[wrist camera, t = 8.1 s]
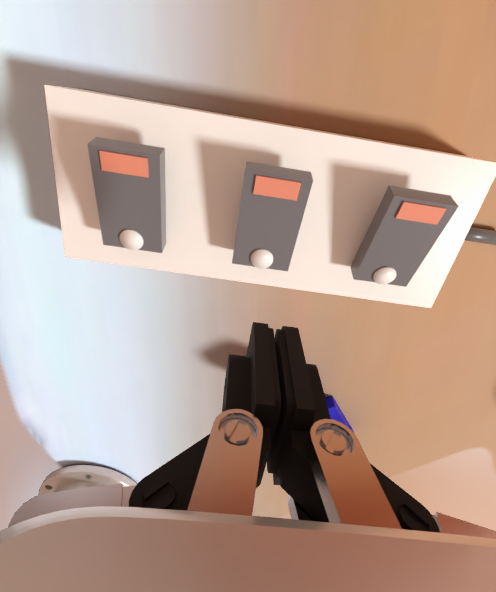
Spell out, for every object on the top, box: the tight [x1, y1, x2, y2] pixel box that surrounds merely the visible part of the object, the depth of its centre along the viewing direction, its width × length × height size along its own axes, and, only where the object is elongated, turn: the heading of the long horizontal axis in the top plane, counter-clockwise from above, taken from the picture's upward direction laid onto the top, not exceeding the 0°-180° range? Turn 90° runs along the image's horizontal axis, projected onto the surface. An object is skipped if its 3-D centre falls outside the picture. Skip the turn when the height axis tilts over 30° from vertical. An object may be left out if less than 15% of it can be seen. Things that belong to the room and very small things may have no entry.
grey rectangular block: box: [87, 137, 166, 253], centre depth 19 cm, size 6×4×1 cm, turn 172°
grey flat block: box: [350, 185, 459, 287], centre depth 21 cm, size 6×4×1 cm, turn 172°
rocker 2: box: [232, 161, 313, 271], centre depth 20 cm, size 6×4×1 cm, turn 172°
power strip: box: [44, 85, 496, 308], centre depth 23 cm, size 10×31×4 cm, turn 81°
